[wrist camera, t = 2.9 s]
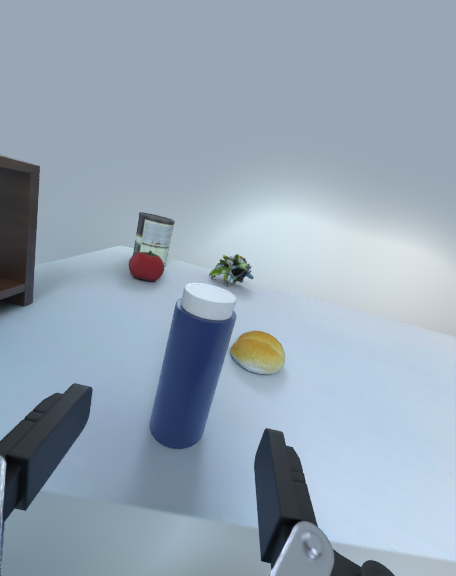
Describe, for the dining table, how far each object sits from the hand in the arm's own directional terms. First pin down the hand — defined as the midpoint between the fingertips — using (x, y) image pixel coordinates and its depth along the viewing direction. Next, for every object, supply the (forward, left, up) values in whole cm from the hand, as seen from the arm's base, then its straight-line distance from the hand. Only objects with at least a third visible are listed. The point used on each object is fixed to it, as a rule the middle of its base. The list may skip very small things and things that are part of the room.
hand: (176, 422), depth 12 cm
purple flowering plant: (+61, -31, -11) cm, 70 cm away
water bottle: (+10, -4, -11) cm, 16 cm away
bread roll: (+21, -19, -11) cm, 31 cm away
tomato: (+55, -5, -11) cm, 56 cm away
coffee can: (+73, -8, -11) cm, 74 cm away
